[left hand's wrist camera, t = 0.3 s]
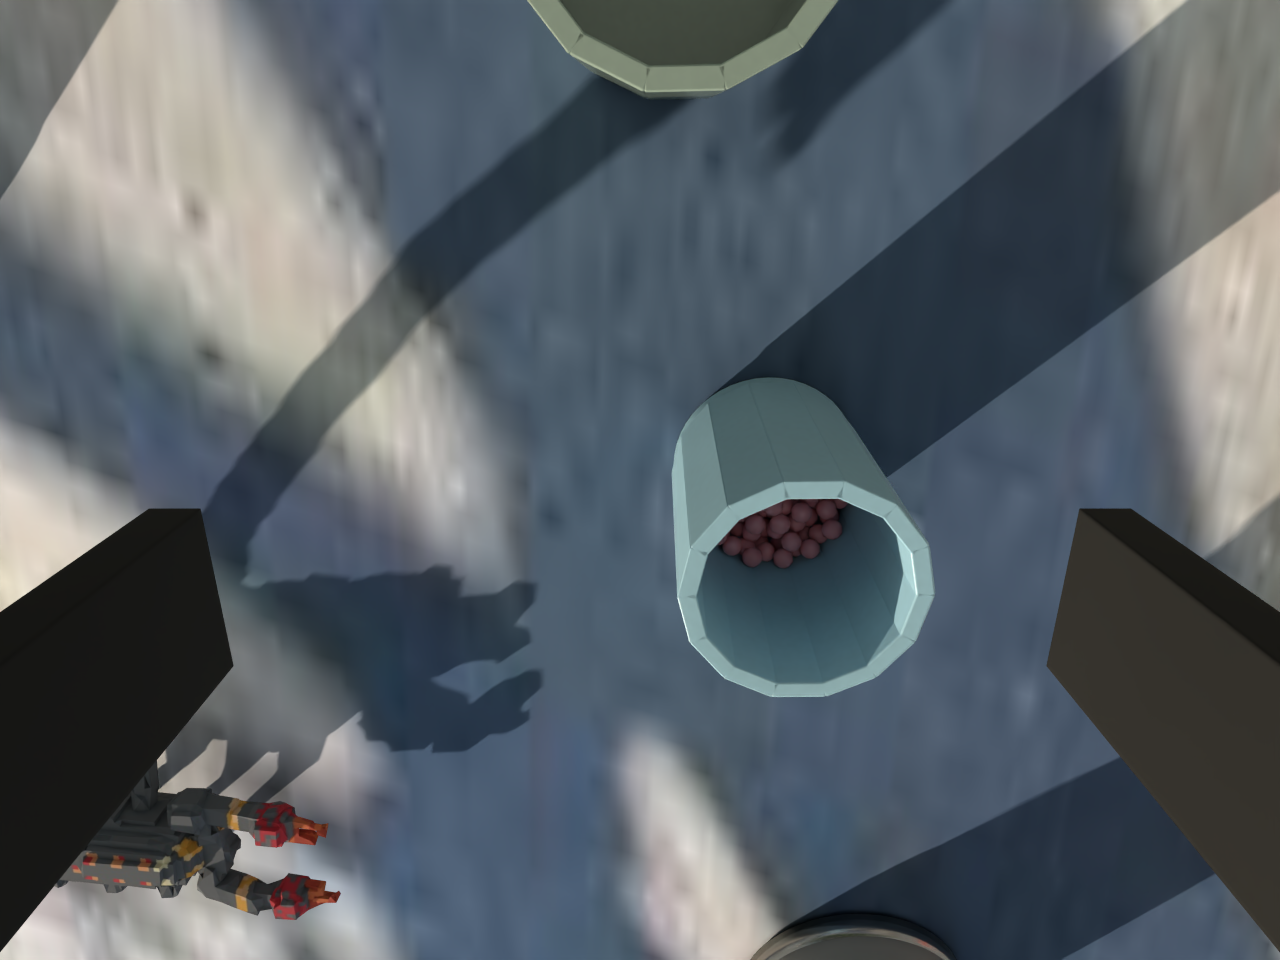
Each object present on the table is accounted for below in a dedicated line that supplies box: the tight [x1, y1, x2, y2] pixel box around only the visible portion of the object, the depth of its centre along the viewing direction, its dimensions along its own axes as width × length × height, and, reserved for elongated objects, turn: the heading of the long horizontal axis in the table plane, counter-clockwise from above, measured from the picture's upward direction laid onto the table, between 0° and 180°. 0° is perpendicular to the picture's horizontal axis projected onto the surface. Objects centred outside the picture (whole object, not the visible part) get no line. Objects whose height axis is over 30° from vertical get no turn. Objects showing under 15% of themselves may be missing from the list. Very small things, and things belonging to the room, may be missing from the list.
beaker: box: [672, 377, 935, 697], centre depth 35 cm, size 9×9×12 cm
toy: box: [54, 760, 341, 920], centre depth 41 cm, size 13×27×18 cm, turn 83°
